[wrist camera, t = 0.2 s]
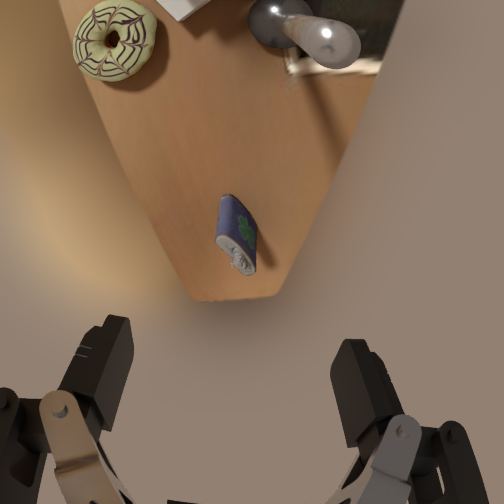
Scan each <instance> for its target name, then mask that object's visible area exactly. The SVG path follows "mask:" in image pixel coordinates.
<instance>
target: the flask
mask: <svg viewBox="0 0 504 504" xmlns="http://www.w3.org/2000/svg"><path fill="white" fill-rule="evenodd" d="M225 195H227V196H224V195H223V196H222V197H221V199H220V206H219V216H218V224H217V230H216V236H215V243H216V244H217V245H218V246H219V247H220V248H221V249H222V250H224V251H225V252H226V253H227V254H228V255H229V256H230V257H231V258H232V261H233V262H231V268H233V266H234V265H236V266H237V268H239V271H240V272H241V273H242V274H244V275H252V274H254V273H255V272H256V245H257V241H256V240H257V225H256V223H255V220H254V219H253V217H252V215H251V214H250V212H248V210H247V209H246V208H245V206H244V205H243V204H242V203H241V202H240V201H239V200H238V199H237V198H236V197H234V196H233V195H231V194H225Z"/></svg>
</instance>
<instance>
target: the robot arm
mask: <svg viewBox="0 0 504 504" xmlns="http://www.w3.org/2000/svg"><path fill="white" fill-rule="evenodd" d="M133 356H134V344H133V338H132V332H131V326H130V320H129V318H126V317H121V316H115V315H108V316H107V318H106V320H105V322H104V324H103V326H102V327H99V326H94V327H93V328H92V329H90V330H89V331H88V332H87V333H86V334H85V335H84V337H83V339H82V341H81V343H80V346H79V347H78V349H77V351H76V353H75V356H74V357H73V359H72V361H71V363H70V365H69V367H68V369H67V371H66V373H65V375H64V377H63V380H62V382H61V384H60V386H59V388H58V389H57V390H55V391H52V392H49V393H48V394H46V395H45V396H44V397H43V398H42V399H26V398H18V396H17V395H16V393H15V392H14V391H13V390H11V389H9V388H0V504H36V503H37V498H38V492H39V488H40V483H41V478H42V474H43V469H44V465H45V461H46V457H47V453H52V454H53V457H54V460H55V463H56V468H55V469H54V470H55V471H54V472H55V476H56V480H57V482H58V485H59V487H60V489H61V492H62V494H63V496H64V498H65V500H66V503H67V504H136V503H135V502H134V500H133V499H132V497H131V496H130V494H129V492H128V491H127V489H126V488H125V487H124V485H123V484H122V482H121V481H120V479H119V477H118V475H117V474H116V471H115V470H114V468H113V466H112V464H111V462H110V460H109V458H108V456H107V454H106V452H105V450H104V448H103V446H102V444H101V442H100V440H99V438H100V434H101V430H106V431H110V432H111V430H112V426H113V423H114V420H115V416H116V413H117V409H118V406H119V402H120V399H121V396H122V392H123V389H124V386H125V383H126V380H127V377H128V373H129V370H130V367H131V364H132V361H133ZM330 377H331V382H332V386H333V390H334V394H335V397H336V402H337V406H338V410H339V414H340V417H341V422H342V426H343V430H344V434H345V439H346V443H347V447H348V448H351V447H358V448H359V453H358V454H357V455H356V457H355V459H354V461H353V463H352V465H351V466H350V468H349V470H348V472H347V474H346V475H345V477H344V479H343V481H342V482H341V484H340V486H339V487H338V489H337V490H336V492H335V493H334V494H333V496H332V497H331V498H330V499H329V500H328V501H327V502H326V503H325V504H406V502H407V499H408V501H409V504H489V501H488V498H487V494H486V490H485V487H484V483H483V480H482V476H481V473H480V471H479V467H478V464H477V461H476V458H475V455H474V452H473V450H472V447H471V445H470V441H469V439H468V436H467V433H466V431H465V429H464V427H463V426H462V425H461V424H459V423H458V422H456V421H447V422H445V423H444V424H443V425H442V426H441V427H439V428H431V427H422V426H420V425H419V423H418V422H417V421H416V420H415V419H414V418H413V417H411V416H409V415H405V413H404V412H403V409H402V406H401V404H400V401H399V399H398V397H397V394H396V391H395V389H394V386H393V384H392V382H391V379H390V377H389V374H387V370H386V368H385V365H384V363H383V361H382V360H381V359H380V358H379V356H378V355H377V354H376V353H375V352H370V350H369V348H368V346H367V343H366V341H365V340H364V339H345V340H344V341H343V343H342V345H341V346H340V349H339V351H338V353H337V355H336V357H335V359H334V361H333V363H332V366H331V370H330ZM437 467H439V469H440V472H441V476H442V480H443V483H444V488H445V491H444V494H443V492H442V488H441V484H440V480H439V476H438V473H437V469H436V468H437ZM167 504H194V503H187V502H179V501H173V500H167ZM195 504H196V503H195Z"/></svg>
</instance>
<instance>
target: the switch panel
mask: <svg viewBox="0 0 504 504" xmlns="http://www.w3.org/2000/svg"><path fill="white" fill-rule="evenodd" d="M156 1H158V2H159V3H160V4H161V5H162V6H163V7H164V8H165V9H166V10H167V11H168V12H169V13H170V14H171V15H172V16H173V17H174V18H175V19H176V20H177V21H183V20H185V19H186V18H188V17H189V16H190V15H192V14H193V13H194V12H196V11H197V10H198V9H200V8H201V7H203V6H204V5H205V4H207V3H208V2H210V1H211V0H156Z"/></svg>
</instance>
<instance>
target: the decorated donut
mask: <svg viewBox="0 0 504 504" xmlns="http://www.w3.org/2000/svg"><path fill="white" fill-rule="evenodd" d="M156 28H157V19H156V17H155V15H154V14H153V13H152V12H151V11H149V10H147V9H146V8H145V7H144V6H143V5H141V4H140V3H138V2H136V1H134V0H107V1H104V2H101V3H99V4H97V5H96V6H95V7H94V8H93V9H91V10H90V11H89V12H88V13H87V14H86V15H85V17H84V18H83V20H82V21H81V22H80V24H79V26H78V28H77V30H76V33H75V35H74V41H73V56H74V59H75V61H76V63H77V65H78V67H79V68H80V69H81V71H82V72H83V73H84V74H85V75H87V76H89V77H91V78H92V79H96V80H103V81H109V82H115V81H120V80H123V79H125V78H127V77H129V76H131V75H133V74H135V73H137V72H138V71H139V70H140V68H141V67H142V66H143V65H144V64H145V63H146V62H147V60H148V59H149V58H150V57H151V54H152V52H153V48H154V44H155V38H156V36H155V32H156ZM112 31H117V32H118V34H119V37H120V41H119V42H118V45H117V47H115V48H114V47H112V46H111V45H110V44H109V42H108V41H109V35H110V33H111V32H112Z"/></svg>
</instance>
